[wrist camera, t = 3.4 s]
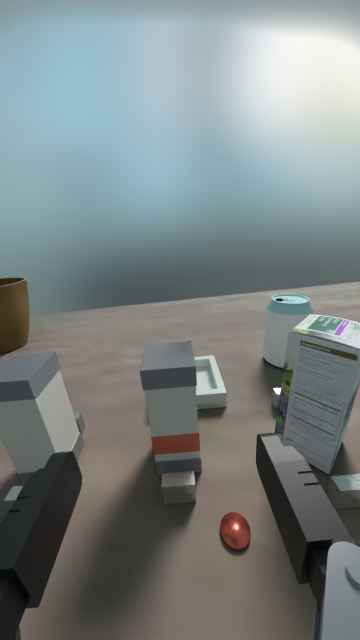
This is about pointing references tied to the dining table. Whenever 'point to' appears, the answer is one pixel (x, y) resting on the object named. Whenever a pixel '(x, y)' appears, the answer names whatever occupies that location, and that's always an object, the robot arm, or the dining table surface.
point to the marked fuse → (172, 406)
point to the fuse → (35, 412)
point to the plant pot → (13, 313)
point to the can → (283, 324)
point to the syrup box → (319, 387)
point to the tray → (209, 384)
